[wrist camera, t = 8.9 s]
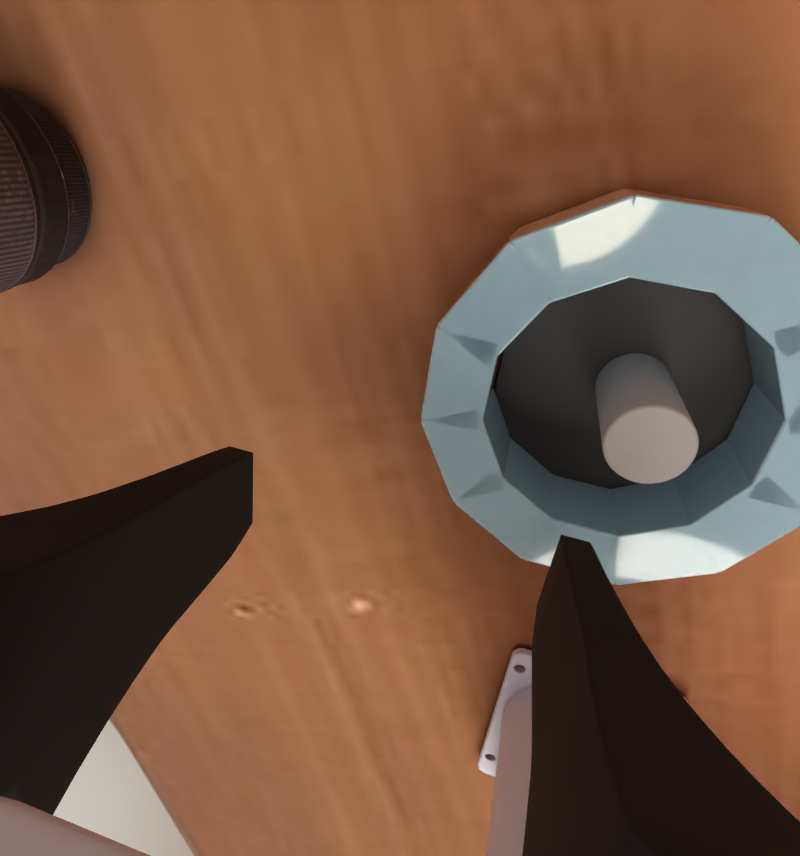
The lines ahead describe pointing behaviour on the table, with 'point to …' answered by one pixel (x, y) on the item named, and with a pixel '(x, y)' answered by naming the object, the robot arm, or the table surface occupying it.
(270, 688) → the table surface
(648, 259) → the ring
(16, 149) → the camera lens
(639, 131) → the table surface
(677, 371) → the stand
